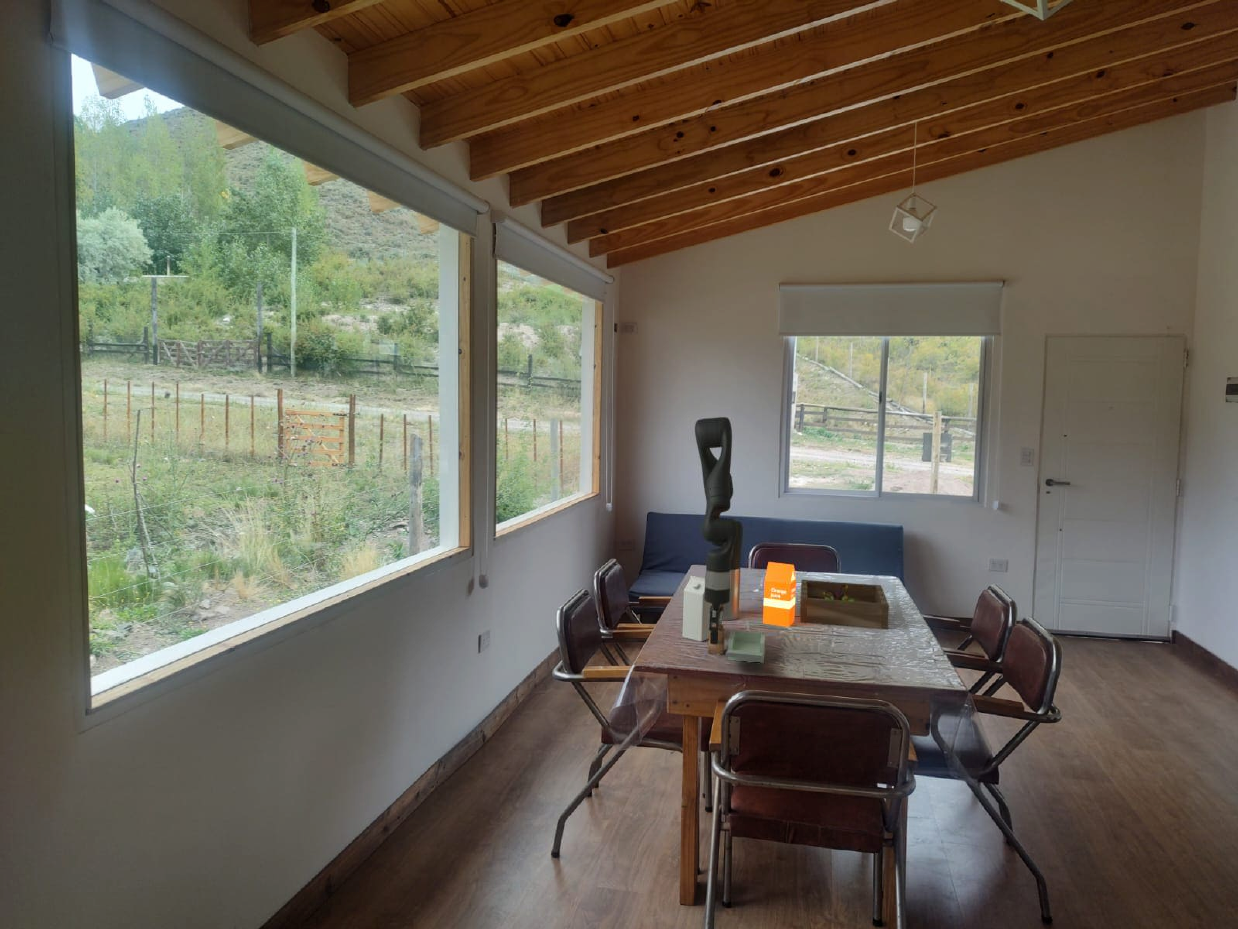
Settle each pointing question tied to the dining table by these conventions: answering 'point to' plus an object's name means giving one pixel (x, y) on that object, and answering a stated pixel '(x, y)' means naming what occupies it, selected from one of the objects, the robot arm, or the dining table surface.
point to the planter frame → (844, 605)
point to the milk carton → (695, 610)
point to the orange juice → (779, 594)
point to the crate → (747, 643)
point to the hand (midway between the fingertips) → (715, 639)
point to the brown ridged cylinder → (720, 646)
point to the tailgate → (744, 654)
